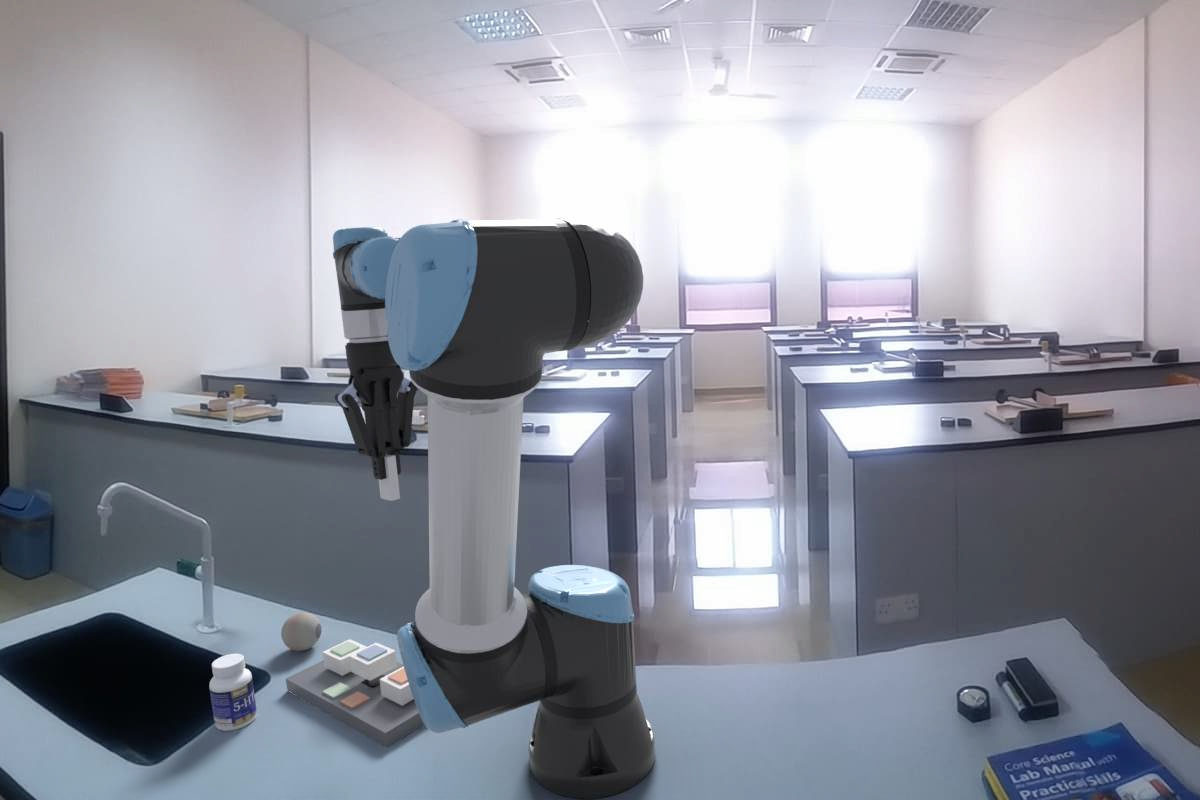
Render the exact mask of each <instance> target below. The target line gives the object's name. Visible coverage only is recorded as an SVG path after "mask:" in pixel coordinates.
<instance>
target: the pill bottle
mask: <svg viewBox="0 0 1200 800" xmlns="http://www.w3.org/2000/svg"><path fill="white" fill-rule="evenodd" d="M211 670H212V675H213V676H212V678H211V679H210V681H209V686H208V687H209V693H210V701H211V707H212V713H213V720H214V725H215V728H217V730H220V731H225V732H229V731H234V730H235V731H236V730H239V729H241V728H244V727H246V726H248V725H249V724H251V723H252V722H253V721H254V720H256V718H257V715H258V710H257V702H256V696H255V695H256V694H255V690H254V683H253V682H254V681H253V674H252V672H251V671H250V670H249V669H248V668H246V661H245V657H244V655H243V654H240V653H229V654H226V655H222V656H220V657H218V658H217V659H214V660H213V662H212V663H211Z"/></svg>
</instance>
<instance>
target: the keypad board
mask: <svg viewBox="0 0 1200 800" xmlns="http://www.w3.org/2000/svg"><path fill="white" fill-rule="evenodd" d="M403 666H404V665H403V663H400V662H398V661H397V667H395V668H393V669H391V670H389V671H388V672H386V673H384V674H382V677H385V676H387V675H388V674H390V673H392V672H394V671H396V670H398V669H400V668H402V667H403ZM285 682H286V691H287V690H288V691H290V692H292V693H293V694H295V695H297V696H298V697H297V696H296V697H297V698H299V697H300V698H302V699H303V700H302V699H301V700H302V701H304V700H305V701H304V702H306V701H307V702H306V703H308V702H309V703H310V704H309V703H308V704H309V705H311V704H312V706H313V707H315V708H317V709H318V710H320V711H322V712H323V713H325V714H327V715H329V716H331V717H333V718H334V719H336V720H338V721H340V722H342V723H344V724H345V725H347V726H349V727H350V728H352V729H354V730H356V731H357V732H360V733H361V734H363V735H364V736H366V737H368V738H369V739H371V740H373V741H375V742H377V743H379V744H381V745H382V746H384V747H385V748H389V747H390V746H392V745H393V744H395V743H396V742H398V741H399V740H401V739H403V738H404V737H406V736H408V735H410V734H412V733H414V731H416V730H418V729H420V728H421V727H422V726H425V725H424V723H423V721H422V719H421V717H420V714H419V712H418V709H417V706H416V704H415V701H414V699H413V700H412V701H410V702H408V703H406V704H405V705H403V706H402V705H400V704H398V703H396V702H394V701H392V700H390V699H388V698H386V697H384V696H382V695H381V687H380V684H379V685H375V686H371V685H369V684H368V680H367V679H365V678H363V677H361V676H359V675H357V674H355V673H353V672H349V673H347V674H345V675H343V676H342V675H340V674H338V673H336V672H334V671H332V670H330V669H328V668H326V667H324V659H323V660H321V661H319V662H317V663H316V664H313V665H310V666H309V667H307V668H305V669H302V670H301V671H299V672H296V673H294V674H292V675H290V676H287V677H286V678H285ZM288 691H287V692H288ZM290 692H289V693H290ZM292 693H291V694H292ZM293 694H292V695H293ZM295 695H294V696H295ZM300 698H299V699H300Z"/></svg>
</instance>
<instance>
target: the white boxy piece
mask: <svg viewBox="0 0 1200 800" xmlns="http://www.w3.org/2000/svg"><path fill="white" fill-rule="evenodd" d="M397 660H398V658H397V652H396V650H395V649H393V648H390V647H388V646H385V645H383V644H381V643H378V642H374V643H373V644H370V645H369V646H366V648H364V649H362V650H360V651H358V652H356V653H354V654H352V655H350V656H349V662H350V670H351V672H353V673H355V674H357V675H359V676H361V677H363V678H365V679H367V680H368V684H369V685H371V686H375V685H379V684H380V679H381V678H383V677H382V674H384V673H386V672H388V671H389V670H391V669H393V668H395V667H397V662H398V661H397Z"/></svg>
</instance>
